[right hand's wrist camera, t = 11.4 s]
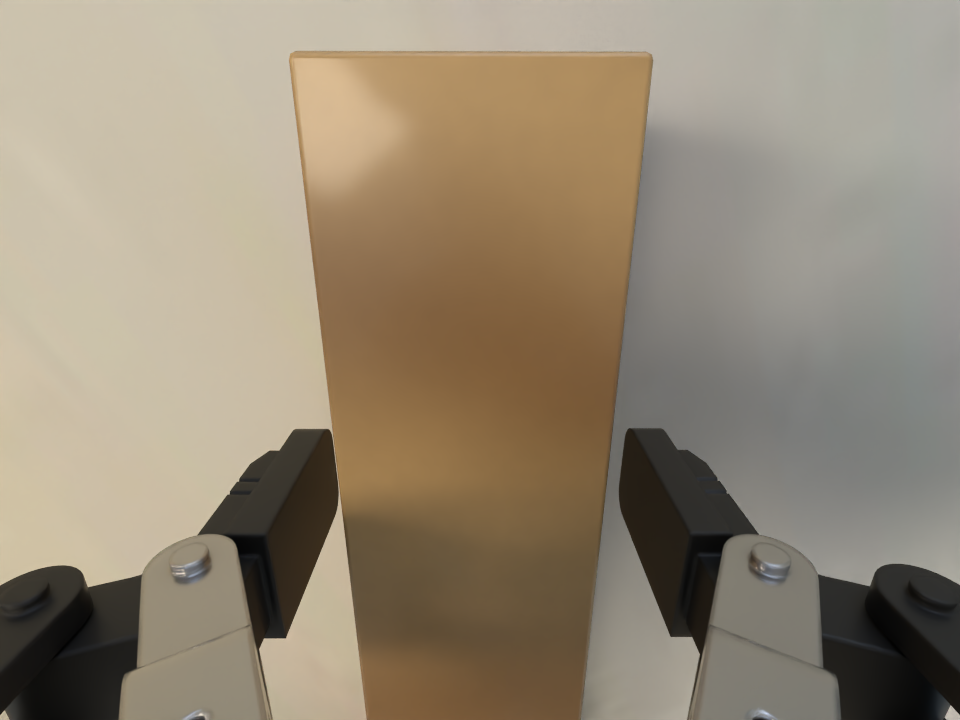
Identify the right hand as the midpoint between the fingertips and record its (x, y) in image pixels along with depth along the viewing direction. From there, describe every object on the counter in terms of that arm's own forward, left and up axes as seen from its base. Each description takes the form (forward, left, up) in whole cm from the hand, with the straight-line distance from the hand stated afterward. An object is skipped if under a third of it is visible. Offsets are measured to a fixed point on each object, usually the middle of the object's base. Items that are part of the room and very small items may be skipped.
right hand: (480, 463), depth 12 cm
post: (+2, -18, -5) cm, 19 cm away
